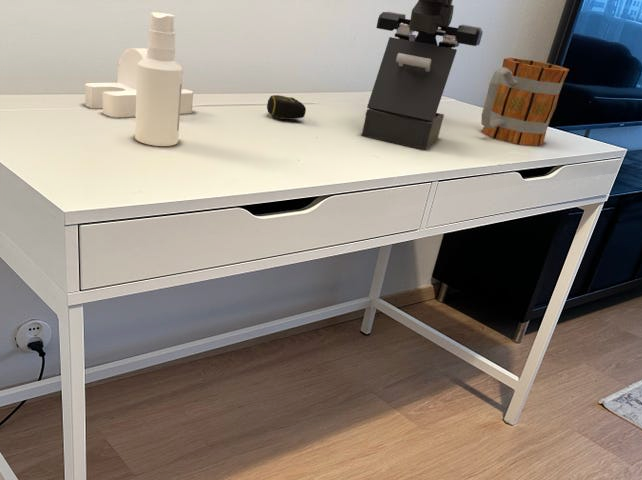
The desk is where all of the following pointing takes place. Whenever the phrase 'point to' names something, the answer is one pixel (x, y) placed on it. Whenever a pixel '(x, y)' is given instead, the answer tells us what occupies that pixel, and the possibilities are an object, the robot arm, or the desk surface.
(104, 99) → the white slotted bracket
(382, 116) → the dark grey box
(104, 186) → the desk surface
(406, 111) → the lid
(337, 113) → the desk surface
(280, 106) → the tape measure
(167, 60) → the spray bottle
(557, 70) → the mug
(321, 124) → the desk surface
